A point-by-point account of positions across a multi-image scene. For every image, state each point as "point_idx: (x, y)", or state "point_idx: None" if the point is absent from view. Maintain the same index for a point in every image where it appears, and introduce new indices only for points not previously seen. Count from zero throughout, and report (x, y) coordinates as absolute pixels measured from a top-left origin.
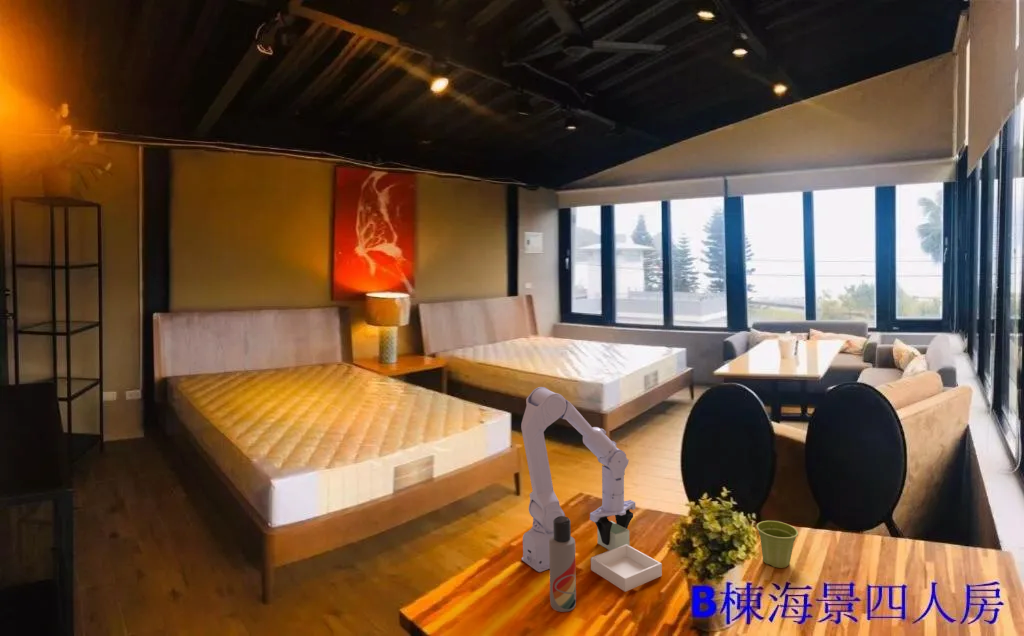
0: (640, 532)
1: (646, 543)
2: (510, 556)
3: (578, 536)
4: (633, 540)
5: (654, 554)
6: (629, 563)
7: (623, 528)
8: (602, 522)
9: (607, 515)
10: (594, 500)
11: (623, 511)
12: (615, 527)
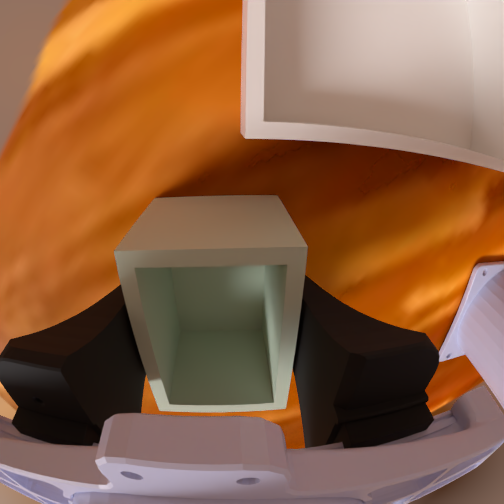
0: (24, 293)
1: (43, 192)
2: None
3: (289, 396)
4: (82, 256)
5: (86, 62)
6: (302, 52)
7: (142, 303)
8: (427, 384)
9: (422, 445)
10: None
11: (152, 480)
12: (163, 358)
